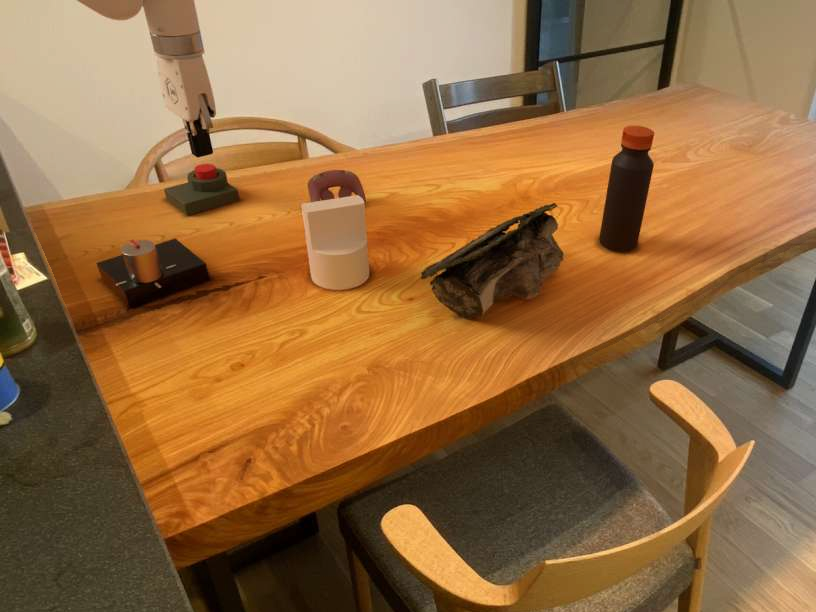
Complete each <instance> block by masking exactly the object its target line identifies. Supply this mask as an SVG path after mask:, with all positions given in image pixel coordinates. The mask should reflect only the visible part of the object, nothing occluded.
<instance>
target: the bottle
mask: <svg viewBox="0 0 816 612" xmlns="http://www.w3.org/2000/svg"><path fill="white" fill-rule="evenodd" d="M654 136H655V131H654V130H653V129H651V128H649V127H647V126H643V125H628V126H625V127H623V129H622V135H621V141H620V147H621V150H620V151H619V152H618V153H617V154H615V155H614V156H613V157H612V160H611V164H610V169H609V170H610V171H609V177H608V181H607V182H608V183H607V190H606V194H605V195H606V196H605V201H604V202H605V203H604V207H603V214H602V219H601V224H600V231H599V238H598V242H599V244H600V245H601V246H602V247H603V248H604V249H606V250H608V251H611V252H616V253H628V252H632V251H634V250H635V249H637V248H638V243H639V239H640V235H641V234H640V233H641V230H642V225H643V220H644V215H645V210H646V206H647V199H648V195H649V190H650V187H651V186H650V185H651V181H652V177H653V172H654V167H655V166H654V165H655V164H654V161H653V159H652V158H651V156H650V155H649V152H650V151H651V150H652V147H653V142H654Z"/></svg>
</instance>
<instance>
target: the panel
mask: <svg viewBox="0 0 816 612" xmlns="http://www.w3.org/2000/svg"><path fill="white" fill-rule="evenodd" d="M155 246H156V249H157V253H158V256H159V260H160V263H161V267H162V270H163V275H162V276H161V277H160V278H159V279H157V280H155V281H152V282H148V283H137V282H134V281H132V280H131V279H130V277H129V273H128V270H127V267H126V264H125V261H124V258H123V255H122V254H121V255H117V256H113V257H111V258H107V259H104V260H101V261H98V262H96V263H95V264H96V266H97V269H98V272H99V275H100V277H101V280H102V281H103V282H104V283H105V285H107V286H108V287H109V289H111V290H112V292H113V293H114V294H116V295H117V296H118V298H120V300H122V301H123V303H124V304H126V305H127V307H128V308H129V309H132V308H133V309H134V308H136V307H139V306H142V305H144V304H147V303H150V302H153V301H155V300H159V299H161V298H164V297H168V296H169V295H173V294H174V293H175V294H176V293H179V292H181V291H183V290H187V289H190V288H192V287H196V286H198V285H201V284H204V283H206V282H209V281H211V278H210V274H209V271H208V266H207V262H205V261H204V260H202V259H201V258H200V257H199V256H198V255H197V254H196V253H194V252H193V251H191V250H190V249H189V248H188V247H186V246H185V245H184V244H183V243H182V242H181V241H179V240H178V239H177V238H172V239H170V240H166V241H162V242H159V243H156V244H155Z"/></svg>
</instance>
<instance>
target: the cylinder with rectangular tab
mask: <svg viewBox="0 0 816 612" xmlns="http://www.w3.org/2000/svg"><path fill="white" fill-rule="evenodd" d="M365 205H366V203H365V204H364V200H363V199H362V198H361V197H360V196H359V195H355V194H354V195H351V196H349V197H342V198H339V197H337V198H334V199H329V200H323V201H322V200H320V201H317V202H311V201H310V202H306V203H301V211H302V212H301V213H302V221H303V228H304V234H305V241H306V249H307V250H306V251H307V259H308V265H309V271H310V278H311V281H312V282H313V283H314V284H315V285H316V286H318V287H320V288H323V289H326V290H333V291H342V290H343V291H344V290H351V289H353V288H356V287H359V286H361V285H363V284H364V283H365V282H366V281H367V280H368V279H369V277H370V263H369V249H368V235H367V234H368V233H367V220H366V219H367V217H366V206H365Z"/></svg>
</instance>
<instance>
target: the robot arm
mask: <svg viewBox="0 0 816 612" xmlns="http://www.w3.org/2000/svg"><path fill="white" fill-rule="evenodd" d="M76 1H77V2H78V3H80V4H82V5H83V6H85V7H87V8H88V9H90V10H92V11H94V12H95V13H97V14H99V15H101V16H102V17H104V18H107V19H109V20H113V21H127V20H130V19H133V18H134V17H136V16H137V15H138V14H139V13H140V12H141V10H142V8H143V12H144V15H145V19H146V23H147V28H148V31H149V36H150V40H151V44H152V48H153V53H154V56H155V57H156V64H157V71H158V77H159V83H160V87H161V93H162V96H163V102H164V106H165V108H167V110H169V111H170V112H171V113H173V114H174V115H176V116H178V117H179V118H181V120H182V123H183V127H184V129H185V131H186V135H187V139H188V144H189V148H190V152H191V155H192V156H194V157H195V158H202V157H206V156H210V155H213V154H214V150H213V145H212V139H211V136H210V131H211V130H210V129H213V128H214V124H213V121H212V119H213V118H215V117H216V115H217V108H216V102H215V97H214V92H213V88H212V84H211V81H210V77H209V74H208V69H207V67H206V66H207V65H206V63H205V60H204V58H203V55H204V54H205V48H204V42H203V38H202V33H201V27H200V23H199V18H198V13H197V8H196V2H195V0H76Z"/></svg>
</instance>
